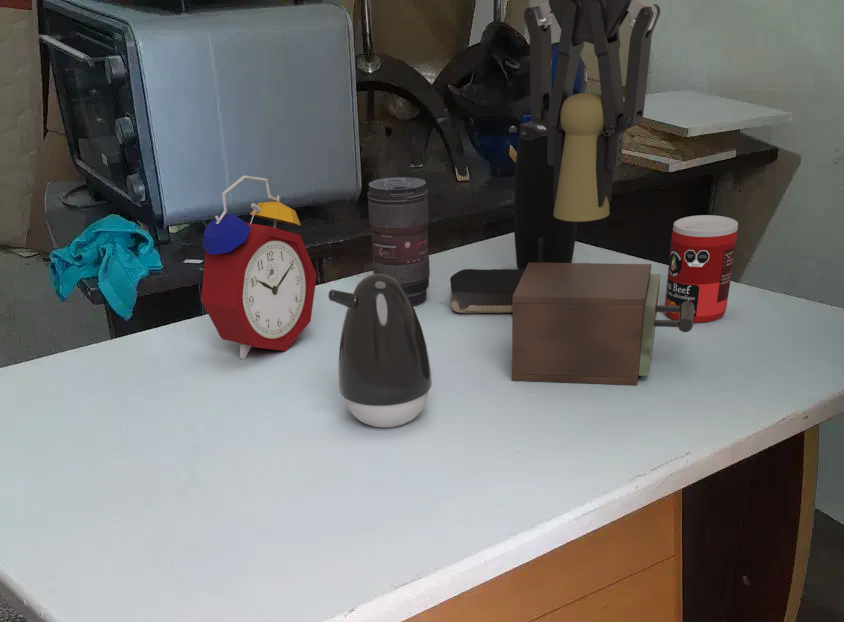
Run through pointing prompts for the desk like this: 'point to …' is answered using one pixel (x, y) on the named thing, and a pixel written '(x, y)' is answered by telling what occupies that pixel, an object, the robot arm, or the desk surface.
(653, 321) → the drawer
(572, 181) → the tan game pawn
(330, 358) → the desk surface
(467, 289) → the scrub brush
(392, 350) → the pump dispenser
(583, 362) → the cabinet
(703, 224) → the canned food
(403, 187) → the camera lens
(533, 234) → the portable speaker
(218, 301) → the alarm clock
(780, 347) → the desk surface
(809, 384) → the desk surface
